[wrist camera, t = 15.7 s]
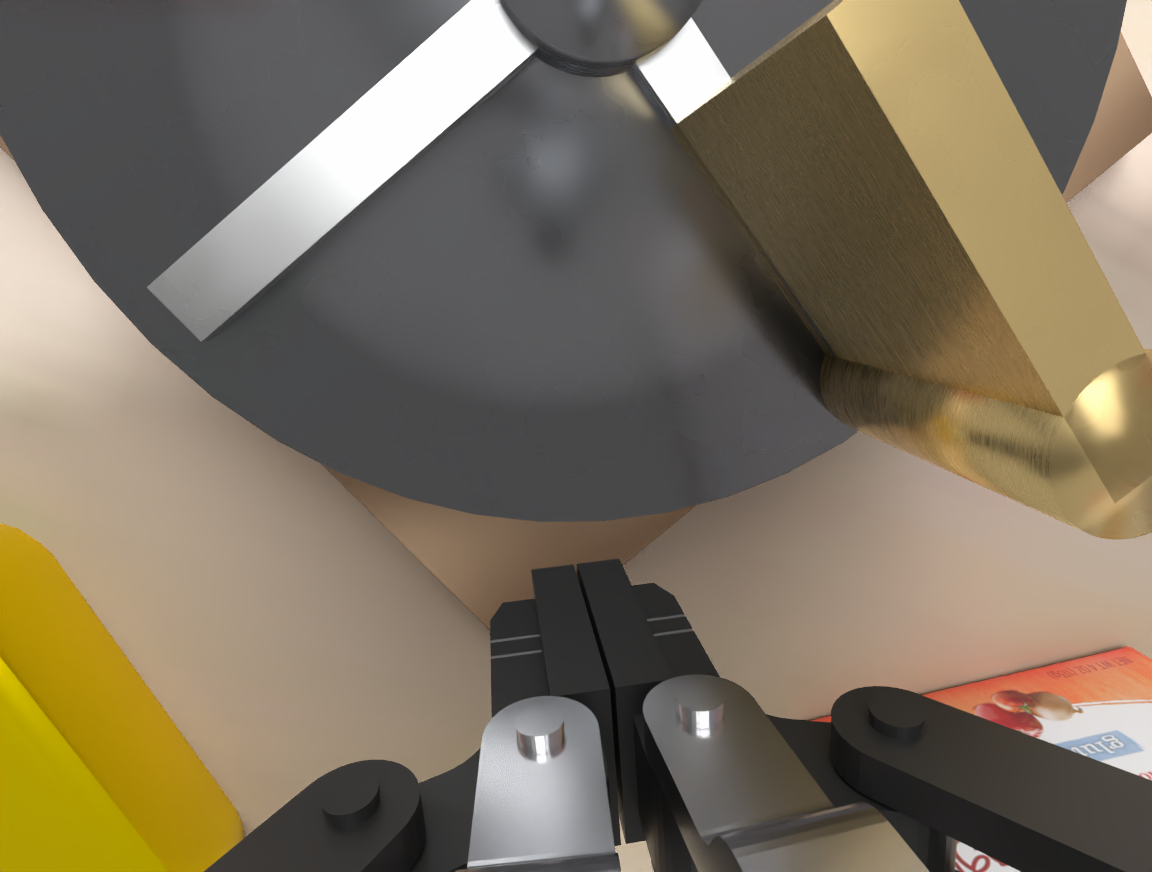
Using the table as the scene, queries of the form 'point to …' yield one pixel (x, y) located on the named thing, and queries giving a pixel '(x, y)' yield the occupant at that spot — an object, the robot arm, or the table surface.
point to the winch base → (514, 547)
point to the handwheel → (604, 236)
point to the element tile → (90, 742)
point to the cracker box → (1067, 715)
